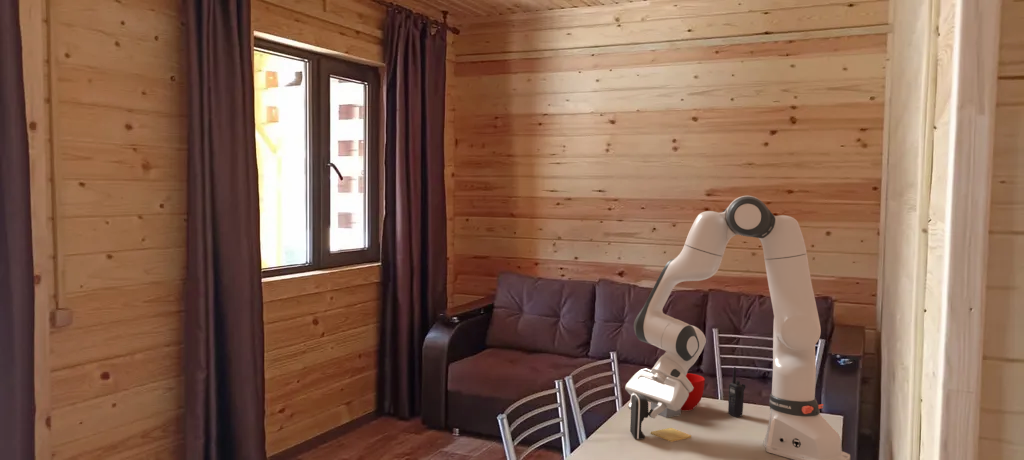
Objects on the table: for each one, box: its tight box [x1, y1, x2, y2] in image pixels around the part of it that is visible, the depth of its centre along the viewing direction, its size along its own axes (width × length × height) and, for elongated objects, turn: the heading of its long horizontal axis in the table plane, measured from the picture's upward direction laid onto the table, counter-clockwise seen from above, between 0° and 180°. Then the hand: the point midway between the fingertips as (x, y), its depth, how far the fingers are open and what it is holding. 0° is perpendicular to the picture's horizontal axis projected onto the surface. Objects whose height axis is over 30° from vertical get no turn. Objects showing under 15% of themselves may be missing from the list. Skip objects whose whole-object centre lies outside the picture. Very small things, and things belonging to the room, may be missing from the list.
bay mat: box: [650, 427, 692, 443], centre depth 215 cm, size 8×8×1 cm
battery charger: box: [629, 394, 649, 440], centre depth 213 cm, size 7×4×11 cm, turn 3°
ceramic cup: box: [681, 372, 706, 412], centre depth 245 cm, size 13×17×10 cm
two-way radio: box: [727, 366, 746, 418], centre depth 237 cm, size 6×4×15 cm
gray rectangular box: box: [650, 402, 682, 418], centre depth 237 cm, size 7×6×15 cm
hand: (640, 412), depth 214 cm, fingers closed on battery charger, 7 cm apart
